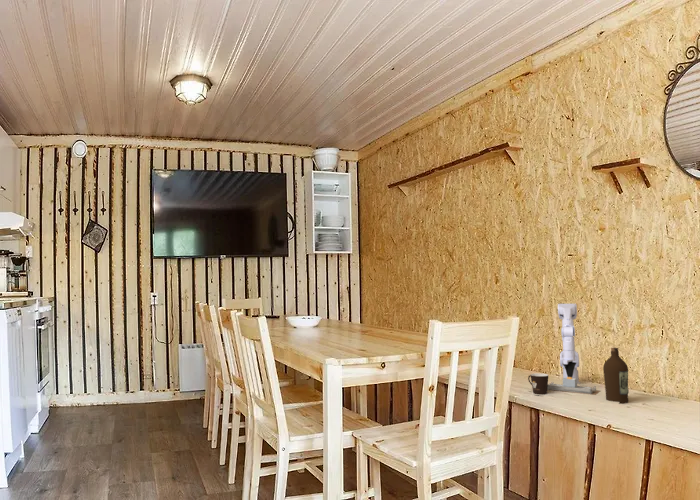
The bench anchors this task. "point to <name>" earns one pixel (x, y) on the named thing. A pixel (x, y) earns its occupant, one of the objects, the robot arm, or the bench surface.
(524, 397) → the bench surface
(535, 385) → the coffee mug
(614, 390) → the olive oil
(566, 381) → the block
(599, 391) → the board
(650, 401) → the bench surface
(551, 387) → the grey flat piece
